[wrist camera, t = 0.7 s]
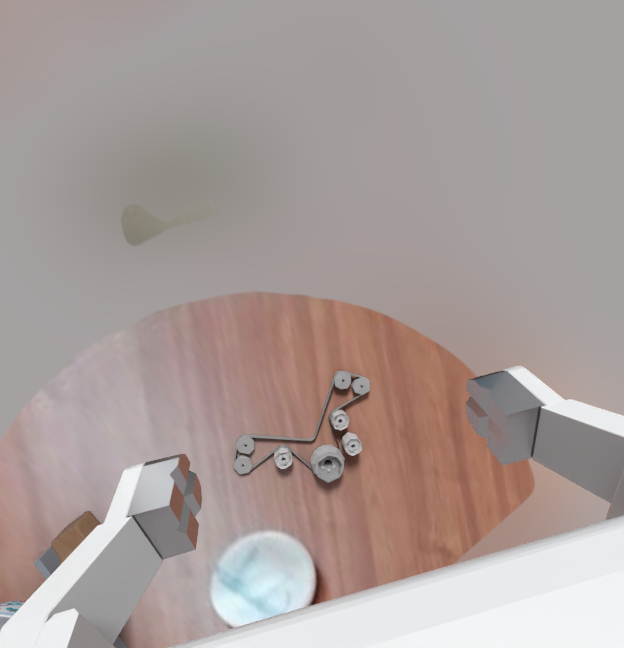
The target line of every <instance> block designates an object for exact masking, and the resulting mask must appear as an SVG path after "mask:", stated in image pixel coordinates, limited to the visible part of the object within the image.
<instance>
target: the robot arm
mask: <svg viewBox="0 0 624 648" xmlns="http://www.w3.org/2000/svg"><path fill="white" fill-rule="evenodd" d="M466 391H467V392H468V393H469V394H470V395H471V396H470V397H469V399H468V400H467V402H466V413H467V416H468V420H469V422H470V424H471V426H472V428H473V429H474V430H475V431H476V433H477V434H478V435H480V436H482V437H485V438H487V439H488V440H487V447H488V448H489V449H490V451H491V452H492V453H493V454H494V456H495V457H496V458H497V459H498V461H499V462H500V463H501V464H502V465H505V464H509V463H513V462H517V461H521V460H525V459H529V458H533V460H534V461H537V462H538V463H540V464H542V465H544V466H545V467H547V468H549V469H551V470H552V471H554V472H556V473H558V474H559V475H561V476H563V477H565V478H567V479H569V480H570V481H572V482H574V483H576V484H577V485H579V486H581V487H583V488H584V489H586V490H588V491H590V492H592V493H593V494H595V495H597V496H599V497H601V498H602V499H604V500H606V501H608V502H609V503H611V505H610V508H609V511H608V514H607V517H606V520H605V521H602V522H598V523H595V524H592V525H588V526H584V527H581V528H578V529H574V530H571V531H567V532H564V533H560V534H557V535H554V536H550V537H547V538H543V539H540V540H536V541H533V542H530V543H526V544H523V545H519V546H516V547H512V548H509V549H505V550H502V551H498V552H495V553H492V554H488V555H485V556H481V557H478V558H474V559H471V560H468V561H464V562H461V563H457V564H453V565H450V566H446V567H443V568H439V569H436V570H432V571H429V572H426V573H422V574H419V575H415V576H412V577H408V578H405V579H401V580H398V581H394V582H391V583H387V584H384V585H381V586H377V587H374V588H370V589H367V590H363V591H360V592H356V593H353V594H349V595H346V596H342V597H339V598H336V599H332V600H329V601H325V602H322V603H318V604H315V605H311V606H308V607H305V608H301V609H298V610H294V611H291V612H287V613H284V614H280V615H277V616H274V617H270V618H267V619H263V620H260V621H256V622H253V623H249V624H246V625H243V626H239V627H236V628H232V629H229V630H225V631H222V632H218V633H215V634H212V635H208V636H205V637H201V638H198V639H194V640H191V641H187V642H184V643H180V644H177V645H174V646H170V647H167V648H624V416H622V415H619V414H616V413H612V412H609V411H606V410H603V409H600V408H597V407H594V406H590V405H587V404H584V403H581V402H578V401H575V400H572V399H570V400H564V399H563V398H562V397H560V396H559V395H558V394H557V393H555V392H554V391H553V390H552V389H550V388H549V387H548V386H547V385H545V384H544V383H543V382H542V381H540V380H539V379H538V378H537V377H536V376H534V375H533V374H532V373H531V372H529V371H528V370H527V369H525V368H524V367H522V366H516V367H512V368H508V369H505V370H502V371H498V372H494V373H490V374H487V375H483V376H479V377H476V378H472V379H469V380H468V382H467V387H466ZM189 467H190V461H189V460H188V458H187V456H186V454H179V455H175V456H170V457H166V458H162V459H158V460H153V461H149V462H146V463H143V464H138V465H134V466H129V467H127V468H126V469H125V470H124V471H123V473H122V476H121V479H120V481H119V484H118V487H117V489H116V492H115V495H114V497H113V500H112V503H111V505H110V508H109V511H108V513H107V516H106V519H105V521H104V524H101V525H98V526H97V527H96V528H95V529H94V530H93V531H92V532H91V533H90V534H89V535H88V536H87V537H86V538H85V539H84V541H83V542H82V543H81V544H80V545H79V546H78V547H77V548H76V549H75V550H74V551H73V552H72V553H71V554H70V555H69V556H68V558H67V559H66V560H65V561H64V562H63V563H62V564H61V565H60V566H59V567H58V568H57V569H56V570H55V571H54V572H53V573H52V575H51V576H50V577H49V578H48V579H47V580H46V581H45V582H44V583H43V584H42V585H41V586H40V587H39V588H38V589H37V590H36V592H35V593H34V594H33V595H32V596H31V597H30V598H29V599H28V600H27V601H26V602H25V603H24V604H23V605H22V606H21V607H20V609H19V610H18V611H17V612H16V613H15V614H14V615H13V616H12V617H11V618H10V619H9V620H8V621H7V622H6V623H5V624H4V626H3V627H2V629H1V631H0V648H115V647H114V646H113V643H114V642H115V640H116V638H117V637H118V635H119V634H120V632H121V630H122V629H123V627H124V625H125V624H126V622H127V620H128V619H129V617H130V615H131V614H132V612H133V610H134V609H135V607H136V605H137V604H138V602H139V600H140V599H141V597H142V595H143V594H144V592H145V591H146V589H147V587H148V586H149V584H150V582H151V581H152V579H153V577H154V576H155V574H156V572H157V571H158V569H159V567H160V566H161V564H162V562H163V559H166V558H169V557H173V556H176V555H179V554H182V553H186V552H189V551H192V550H196V543H197V535H198V527H199V524H198V522H197V520H196V518H195V516H196V515H197V513H198V512H199V511H200V509H201V502H202V495H201V486H200V482H199V479H198V477H197V475H196V473H194V472H191V471H189Z"/></svg>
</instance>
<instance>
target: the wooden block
mask: <svg viewBox="0 0 624 648" xmlns="http://www.w3.org/2000/svg"><path fill="white" fill-rule="evenodd" d="M98 525H101V524H100V523H99V521H98V520H97V519H96V518H95V517H94V516H93V514H92V513H91V512H90V511H87V512H85V513H84V514H83V515H81V516H80V517H79V518H77V519H76V520H75V521H73V522H72V523H71V524H69V525H68V526H67V527H66V528H65V529H64V530H63V531H62V532H61V533H60V534H59V535H58V536H57V537H56V538H55V539H54V540H53V541H52V543H51V546H52V547H53V549H54V550H55V552H56V554H57V555H58V557H59V558H60V565H61V564H62V563H63V562H64V561H65V560H66V559H67V558H68V556H69V555H70V554H71V553H72V552H73V551H74V550H75V549H76V548H77V547H78V546H79V545H80V544H81V543H82V542H83V541H84V539H85V538H86V537H87V536H88V535H89V534H90V533H91V532H92V531H93V530H94V529H95V528H96V527H97V526H98Z"/></svg>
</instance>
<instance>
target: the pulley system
mask: <svg viewBox="0 0 624 648" xmlns="http://www.w3.org/2000/svg"><path fill="white" fill-rule="evenodd" d="M349 374H350V375H349ZM351 375H354V376H357V377H356V378H355V379H354V381H353V383H352V385H351V386H352V388H353V390H354V391H355V393H358V394H359V395H358V396H356V397H354V398H353V399H351V400H349V401H347V402H346V403H344V404H342V405H341V406H339V407H337V408H336V409H334V410H332V411H331V413H330V415H329V420H330V423H332V424H331V426H332V425H333V426H334V428H335V429H338V430H343V429H345V428H347V427H348V424H349V418H348V416H347V415H346V414H345V412H344V411H343V410H342V409H340V408H342V407H343V406H345V405H347V404H348V403H350V402H351V401H353V400H355V399H356V398H358V397H360V396H361V395H364V394H365V393H367V392H368V391H370V381H369V380H368V379H367V378H366V377H363V376H360V375H356V374H353V373H350V372H346V371H338V372H336V374H335V375H334V377H333V380H332V383H331V386H330V389H329V392H328V395H327V398H326V401H325V404H324V407H323V410H322V413H321V416H320V419H319V422H318V425H317V428H316V431H315V434H314V437H312V438H310V439H303V438H290V437H277V436H265V435H252V434H244V435H241V436H240V437H239V438H238V439H237V443H236V451H235V459H236V452H237V449H238V451H239V452H240V453H245V454H250V453H251V452H252V451H253V450H254V440H253V438H266V439H283V440H301V441H312V440H313V439H314V438H315V437H316V435H317V432H318V429H319V426H320V423H321V420H322V417H323V414H324V411H325V408H326V405H327V402H328V399H329V396H330V393H331V390H332V387H333V384H335V386H336V387H337V388H339V389H347V388H348V387H349V385H350V384H351ZM342 379H343V380H342ZM360 385H361V386H360ZM332 429H333V427H332ZM333 432H334V430H333ZM334 435H335V433H334ZM335 438H336V436H335ZM336 441H337V439H336ZM337 444H338V442H337ZM342 444H343V446H344V449H345V450H346V452H347V453H348V454H349V455H352V456H354V455H356V454H358V453H359V452H360V451H361V450H362V444H361V441H360V440H359V439H358V437H357V435H356V434H354V433H349V432H347V433H346V434H345V435H344V436H343V437H342ZM338 447H339V445H338ZM291 452H292V453H294V454H295V455H296V456H297V457H298V458H299V459H301V460H302V461H303V462H304V463H305V464H306V465H308V466H309V467H310V468H311V469H312V470H313V472H314V474H315V475H317V476H318V477H319V478H320V479H322V480H324V481H326V482H328V483H329V482H331V481H333V480H335V479H337V478H340V476H341V474H342V472H343V470H344V460H345V458H344V457H343V455H342V454H341V451H340V448H339V449H338V448H336V447H334V446H333V445H322V446H320V447H318V448H317V449H316V450H314V453H313V454H312V457H311V466H312V467H311V466H310V465H309V464H308V463H306V462H305V461H304V460H303V459H302V458H301V457H300V456H298V455H297V454H296V453H295V452H294V451H293V450H292V449H291V448H289V447H288V446H286V445H280V446H278V447H277V448H276V449H274V450H273V451H272V452H271V453H269V454H268V455H267V456H265V457H264V458H263V459H261V460H260V461H259V462H257V463H256V464H255V465H252V461H251V459H250V458H249V457H247V456H246V455H241V456H239V457H238V458H237V459H236V461H235V459H234V469H235V471H236V472H237V473H238V474H246V473H249V472H250V471H251V470H252V469H253V468H254V467H256V466H257V465H258V464H260V463H261V462H262V461H263V460H265V459H266V458H267V457H269V456H270V455H271V454H272V453H274V459H275V463H276V466H278V467H279V468H280V469H285V468H287V467H289V466H290V465H291V464H292V460H293V458H292V453H291ZM328 459H329V460H331V462H327V463H325V461H326V460H328ZM242 464H244V465H242Z"/></svg>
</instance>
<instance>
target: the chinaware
mask: <svg viewBox="0 0 624 648" xmlns="http://www.w3.org/2000/svg"><path fill="white" fill-rule="evenodd" d="M25 602H26V601H10V602H5V603H1V604H0V631H1V629H2V627H3V626H4V624H5V623H6V622H7V621H8V620H9V619H10V618H11V617H12V616H13V615H14V614H15V613H16V612H17V611H18V610H19V609H20V607H21V606H22V605H23V604H24V603H25Z"/></svg>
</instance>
